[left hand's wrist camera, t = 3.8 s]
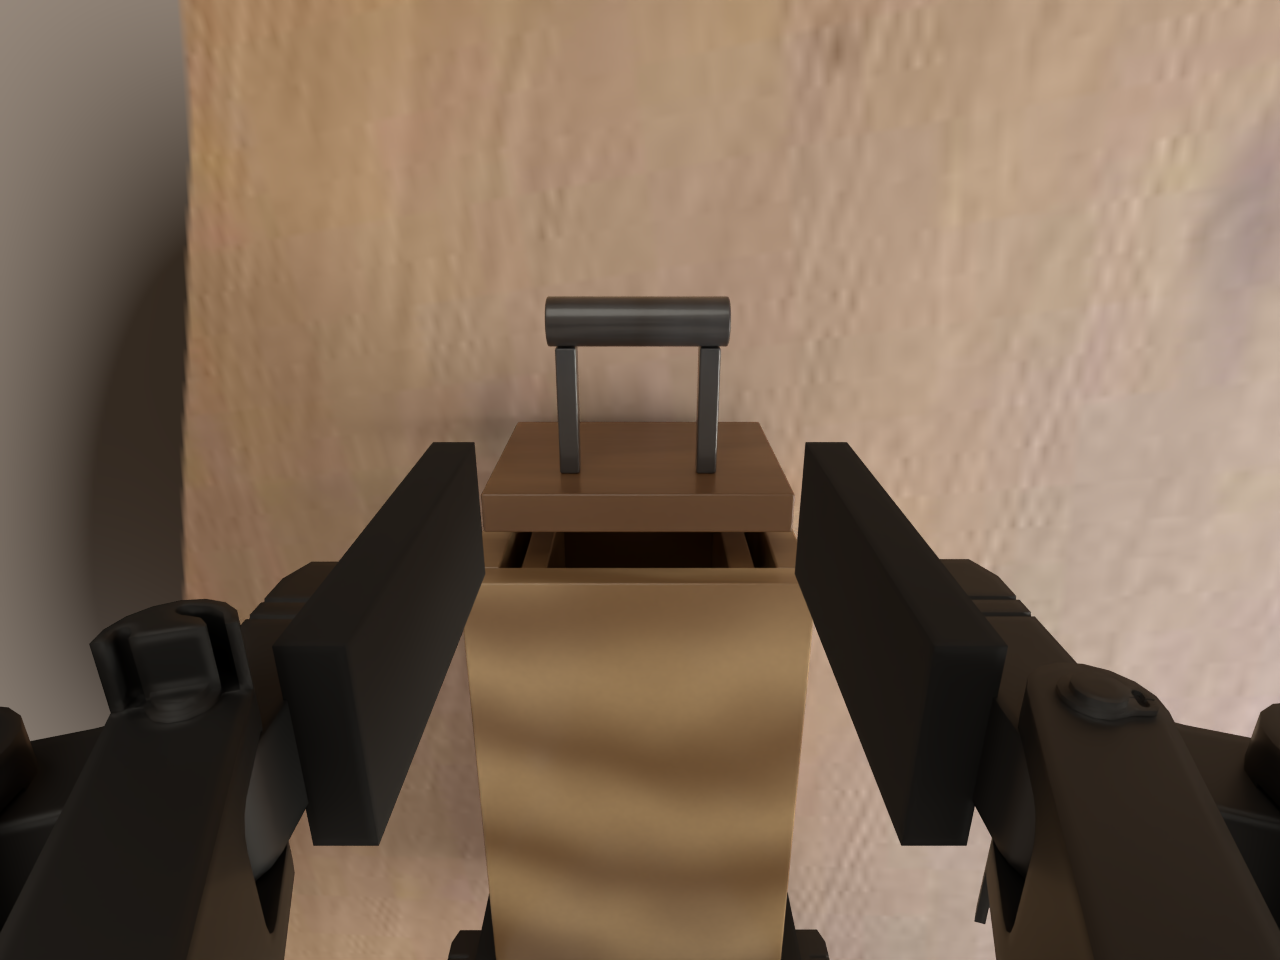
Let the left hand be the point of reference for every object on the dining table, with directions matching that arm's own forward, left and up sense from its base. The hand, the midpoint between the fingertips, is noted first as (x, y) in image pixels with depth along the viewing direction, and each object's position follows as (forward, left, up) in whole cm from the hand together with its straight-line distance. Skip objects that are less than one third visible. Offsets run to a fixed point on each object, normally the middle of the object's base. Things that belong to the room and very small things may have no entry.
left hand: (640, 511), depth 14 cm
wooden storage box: (+14, +6, -15) cm, 21 cm away
